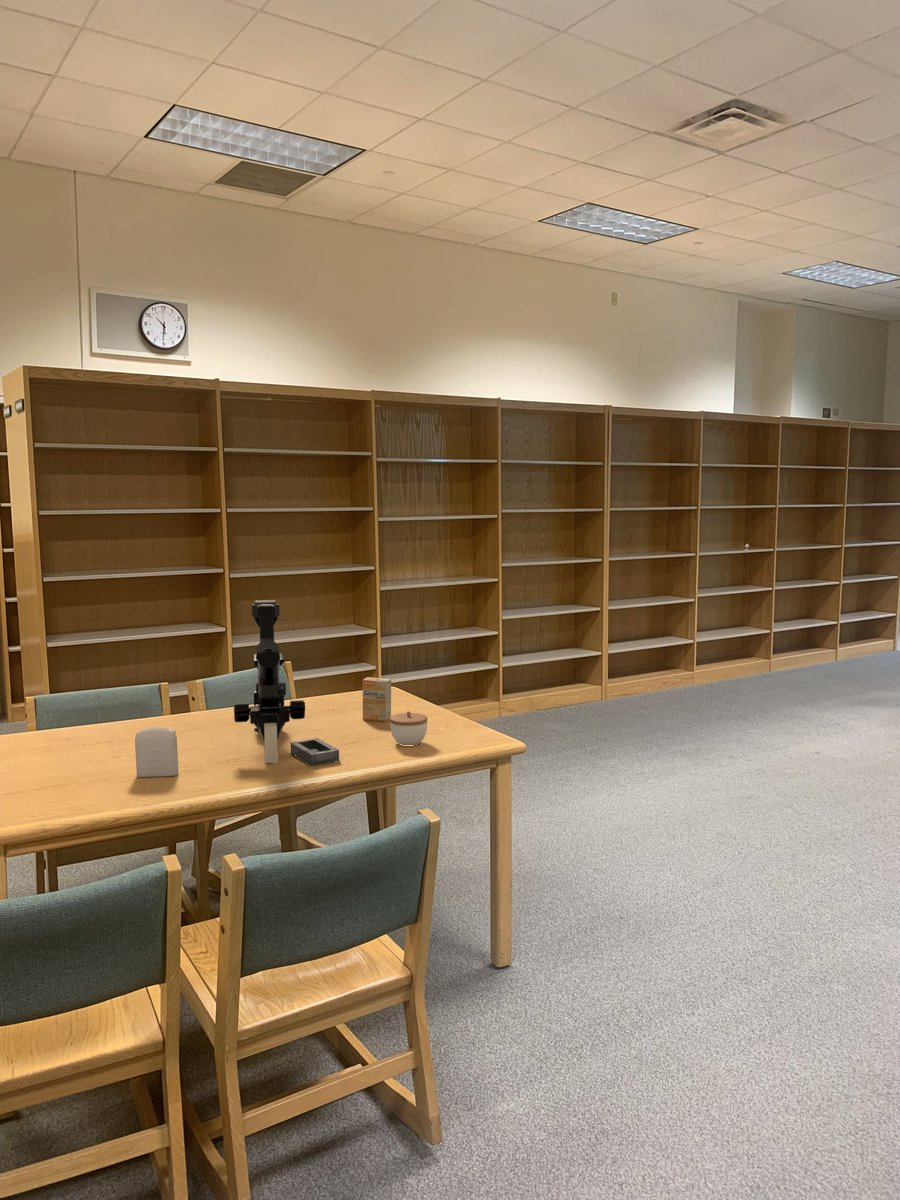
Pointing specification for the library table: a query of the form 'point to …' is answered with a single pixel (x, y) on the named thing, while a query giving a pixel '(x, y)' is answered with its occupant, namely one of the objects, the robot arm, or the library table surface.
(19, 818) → the library table surface
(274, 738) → the pale grey rectangular block
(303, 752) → the grey rectangular tray
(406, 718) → the lidded jar
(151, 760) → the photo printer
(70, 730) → the library table surface
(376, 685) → the supplement box
